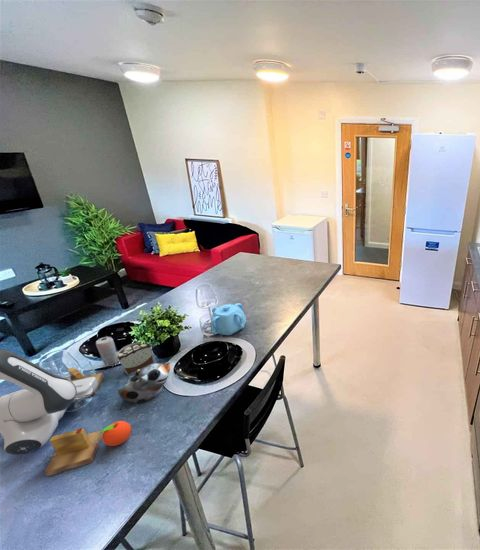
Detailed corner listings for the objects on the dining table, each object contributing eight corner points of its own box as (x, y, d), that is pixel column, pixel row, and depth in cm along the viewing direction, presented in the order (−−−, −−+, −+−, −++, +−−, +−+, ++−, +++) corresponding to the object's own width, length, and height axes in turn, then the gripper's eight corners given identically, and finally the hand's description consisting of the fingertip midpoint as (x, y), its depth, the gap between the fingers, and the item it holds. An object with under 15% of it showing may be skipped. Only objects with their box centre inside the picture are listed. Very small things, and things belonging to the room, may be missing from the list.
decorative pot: (245, 336, 144) (242, 312, 138) (210, 340, 139) (205, 316, 134) (247, 318, 158) (244, 296, 152) (215, 322, 153) (211, 300, 148)
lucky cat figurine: (146, 375, 117) (158, 347, 115) (170, 390, 117) (183, 362, 114) (109, 395, 102) (122, 363, 100) (137, 412, 102) (151, 381, 100)
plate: (57, 403, 104) (55, 398, 103) (69, 383, 112) (67, 379, 111) (97, 393, 108) (95, 389, 107) (105, 375, 116) (104, 371, 115)
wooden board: (44, 477, 81) (41, 472, 80) (60, 446, 90) (57, 441, 89) (95, 461, 86) (92, 456, 85) (106, 433, 94) (103, 428, 93)
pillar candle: (120, 357, 126) (111, 334, 122) (122, 363, 123) (113, 340, 118) (104, 362, 123) (94, 339, 118) (105, 369, 120) (95, 345, 115)
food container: (152, 355, 128) (145, 337, 124) (157, 361, 125) (151, 342, 121) (117, 370, 119) (110, 351, 115) (123, 377, 116) (115, 357, 112)
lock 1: (58, 456, 85) (49, 440, 82) (60, 451, 86) (51, 435, 83) (89, 447, 88) (80, 432, 85) (90, 442, 89) (83, 427, 86)
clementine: (100, 457, 87) (91, 441, 84) (104, 438, 92) (96, 423, 89) (133, 444, 91) (126, 429, 88) (135, 427, 96) (128, 412, 93)
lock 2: (74, 382, 110) (67, 369, 107) (79, 380, 111) (72, 366, 108) (82, 389, 107) (76, 375, 104) (88, 386, 108) (81, 373, 106)
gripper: (86, 390, 98) (100, 364, 110) (2, 409, 90) (26, 379, 101) (93, 403, 101) (106, 376, 112) (11, 423, 93) (34, 392, 104)
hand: (67, 378), depth 107 cm, fingers closed
